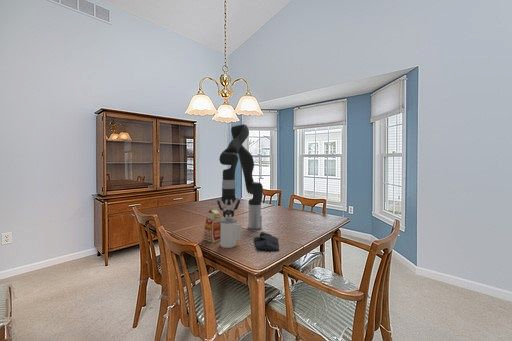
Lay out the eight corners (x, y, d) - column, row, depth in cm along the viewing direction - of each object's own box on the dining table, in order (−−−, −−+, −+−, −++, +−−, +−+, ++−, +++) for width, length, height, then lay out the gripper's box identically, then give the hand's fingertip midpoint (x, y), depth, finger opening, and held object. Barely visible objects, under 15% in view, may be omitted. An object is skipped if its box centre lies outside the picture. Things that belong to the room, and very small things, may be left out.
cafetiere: (239, 241, 146) (239, 217, 145) (242, 246, 137) (242, 221, 136) (219, 242, 143) (219, 217, 142) (221, 248, 134) (221, 222, 133)
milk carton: (213, 242, 143) (213, 209, 142) (202, 239, 148) (202, 207, 147) (223, 238, 151) (223, 206, 149) (212, 235, 155) (212, 205, 154)
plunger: (230, 235, 141) (231, 208, 140) (231, 237, 138) (232, 209, 137) (224, 235, 140) (225, 208, 140) (225, 237, 137) (225, 209, 136)
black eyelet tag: (252, 252, 131) (252, 243, 131) (254, 238, 153) (254, 230, 153) (280, 252, 131) (280, 244, 130) (278, 238, 153) (278, 231, 152)
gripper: (239, 186, 143) (239, 215, 144) (215, 186, 140) (215, 216, 140) (241, 188, 136) (241, 218, 136) (216, 188, 132) (216, 219, 133)
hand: (228, 216), depth 138 cm, fingers closed on plunger, 3 cm apart
